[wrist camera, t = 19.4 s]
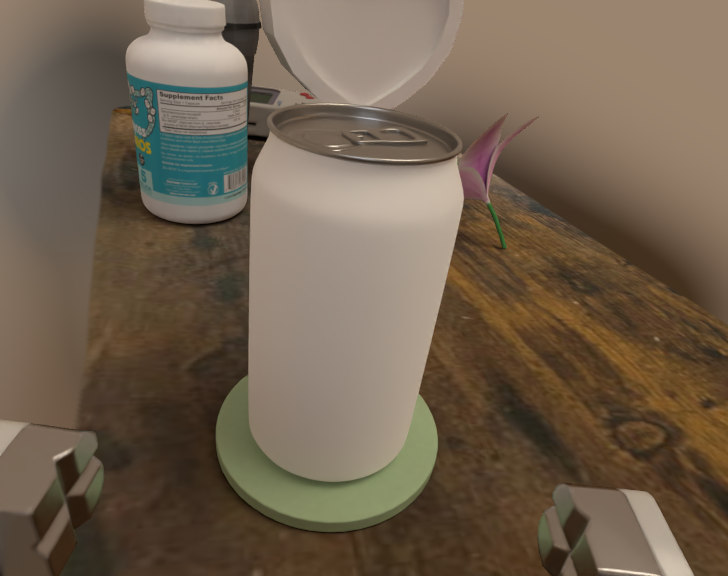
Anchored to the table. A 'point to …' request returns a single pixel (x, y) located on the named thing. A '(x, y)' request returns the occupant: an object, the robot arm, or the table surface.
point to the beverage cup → (242, 32)
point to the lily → (484, 165)
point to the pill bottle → (189, 113)
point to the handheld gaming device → (271, 106)
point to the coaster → (316, 498)
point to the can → (345, 281)
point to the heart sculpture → (362, 45)
